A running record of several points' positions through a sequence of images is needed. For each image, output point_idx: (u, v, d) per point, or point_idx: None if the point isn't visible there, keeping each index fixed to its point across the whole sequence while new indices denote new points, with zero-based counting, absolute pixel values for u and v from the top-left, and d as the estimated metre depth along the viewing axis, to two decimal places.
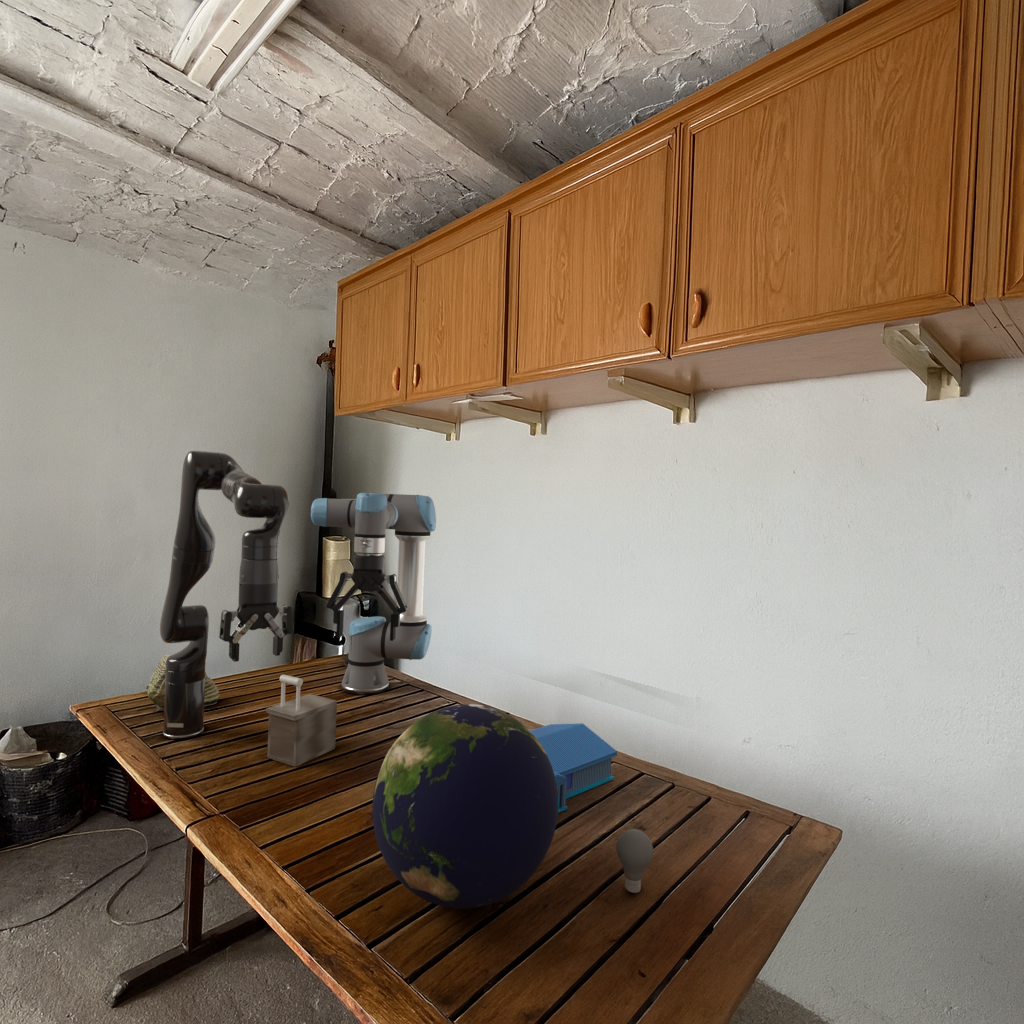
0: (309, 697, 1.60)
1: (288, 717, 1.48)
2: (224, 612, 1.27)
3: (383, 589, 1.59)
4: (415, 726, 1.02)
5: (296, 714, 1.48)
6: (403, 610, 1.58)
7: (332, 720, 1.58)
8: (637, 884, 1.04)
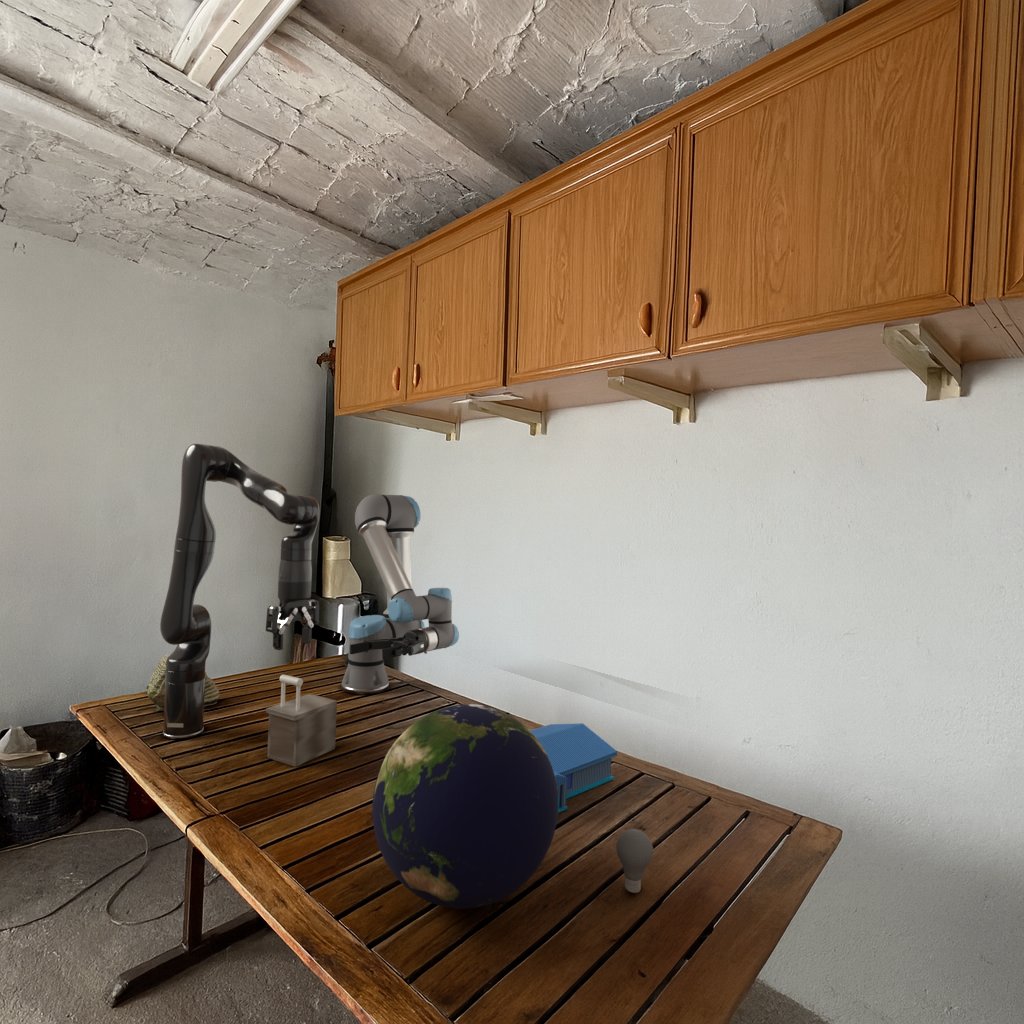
0: (309, 697, 1.60)
1: (288, 717, 1.48)
2: None
3: None
4: (415, 726, 1.02)
5: (296, 714, 1.48)
6: None
7: (332, 720, 1.58)
8: (637, 884, 1.04)
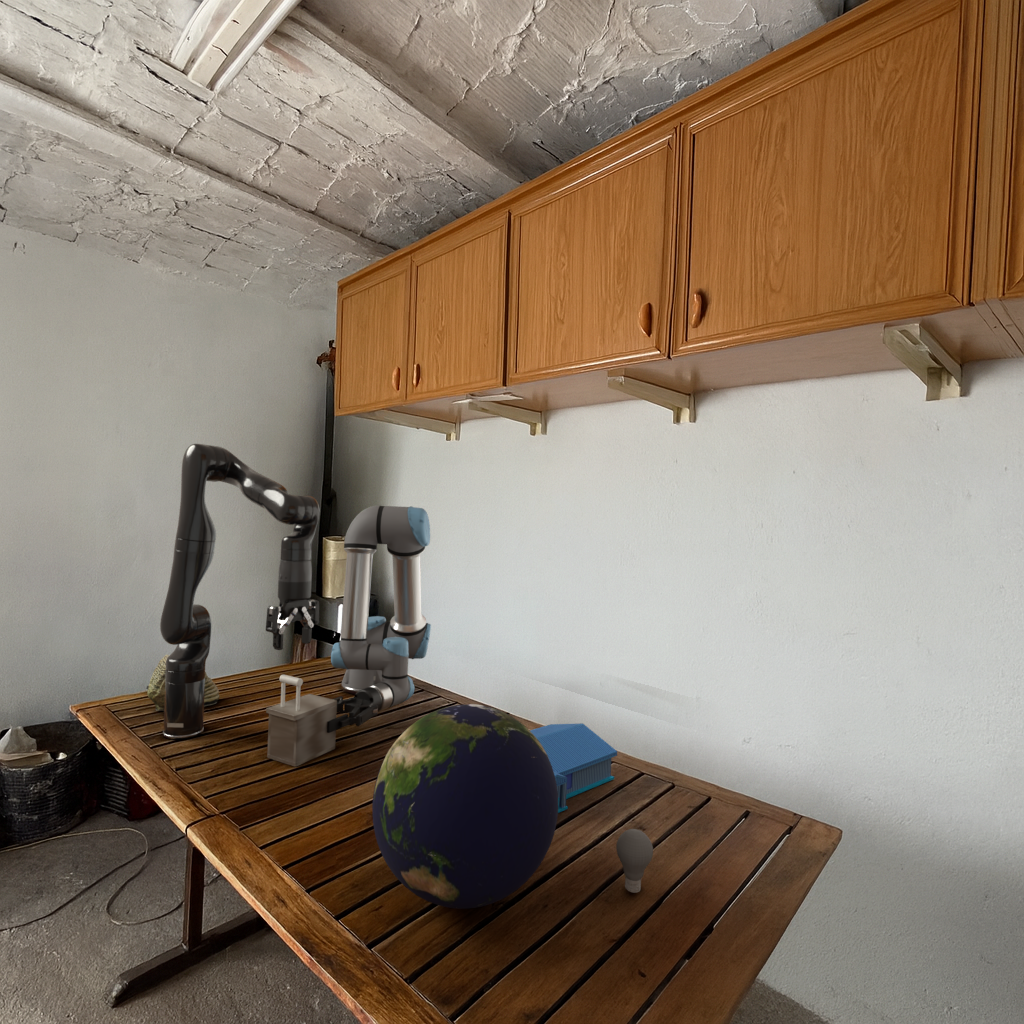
0: (309, 697, 1.60)
1: (288, 717, 1.48)
2: None
3: None
4: (415, 726, 1.02)
5: (296, 714, 1.48)
6: None
7: None
8: (637, 884, 1.04)
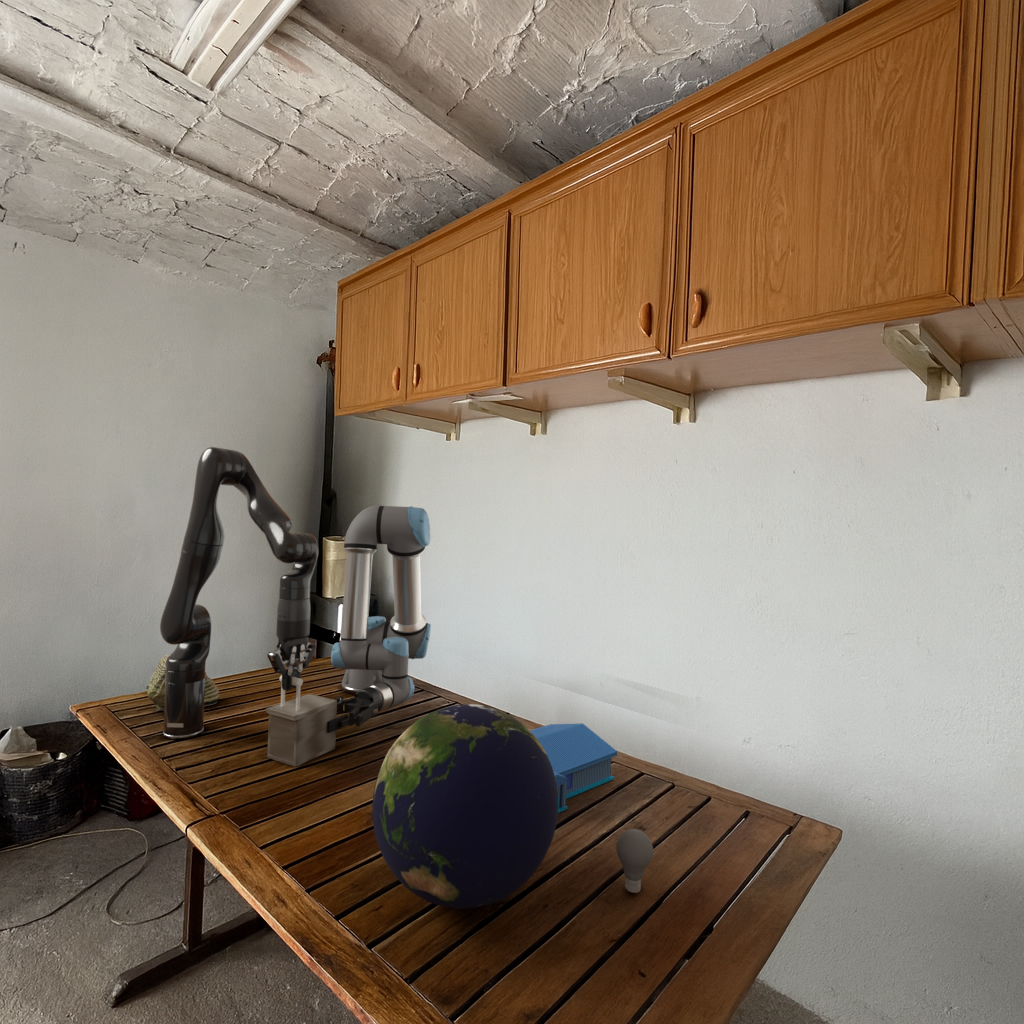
0: (309, 697, 1.60)
1: (288, 717, 1.48)
2: None
3: None
4: (415, 726, 1.02)
5: (296, 714, 1.48)
6: None
7: None
8: (637, 884, 1.04)
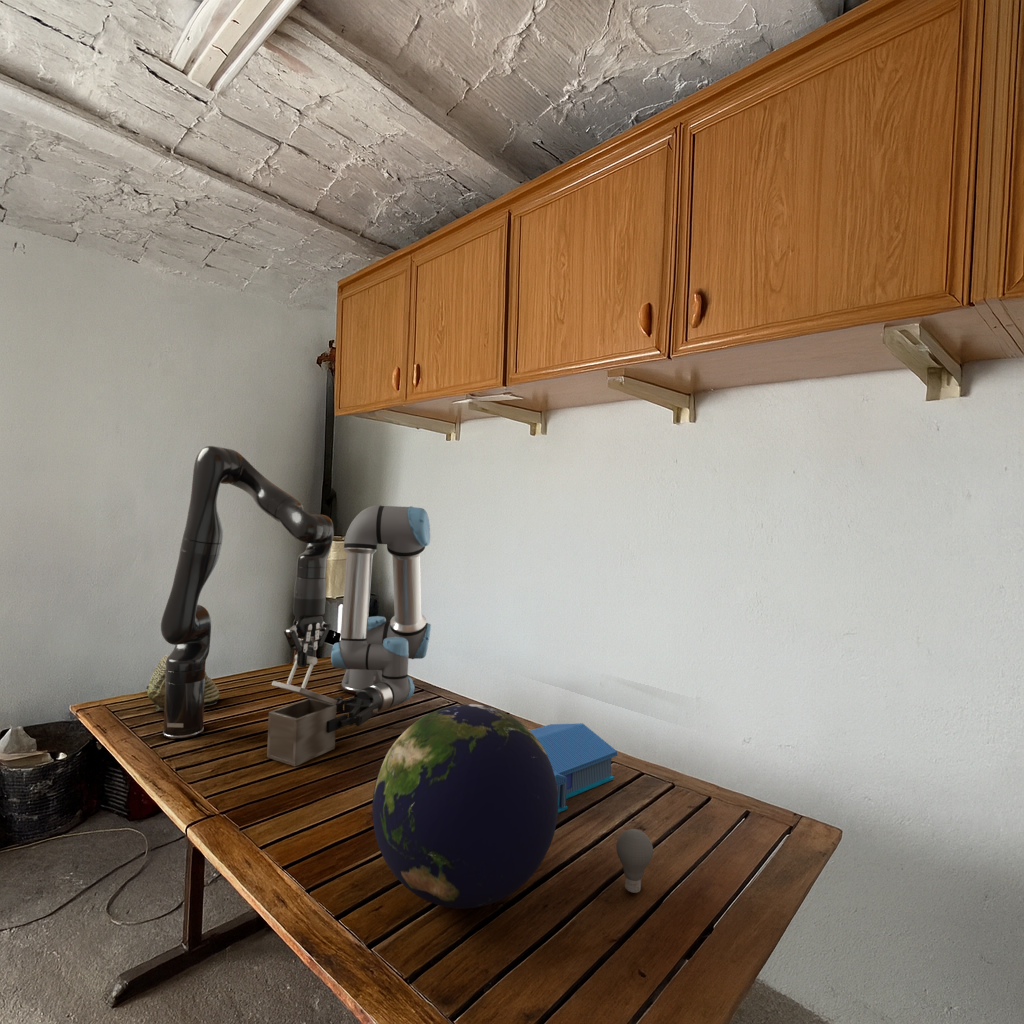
0: None
1: (293, 688, 1.49)
2: None
3: None
4: (415, 726, 1.02)
5: (302, 688, 1.49)
6: None
7: None
8: (637, 884, 1.04)
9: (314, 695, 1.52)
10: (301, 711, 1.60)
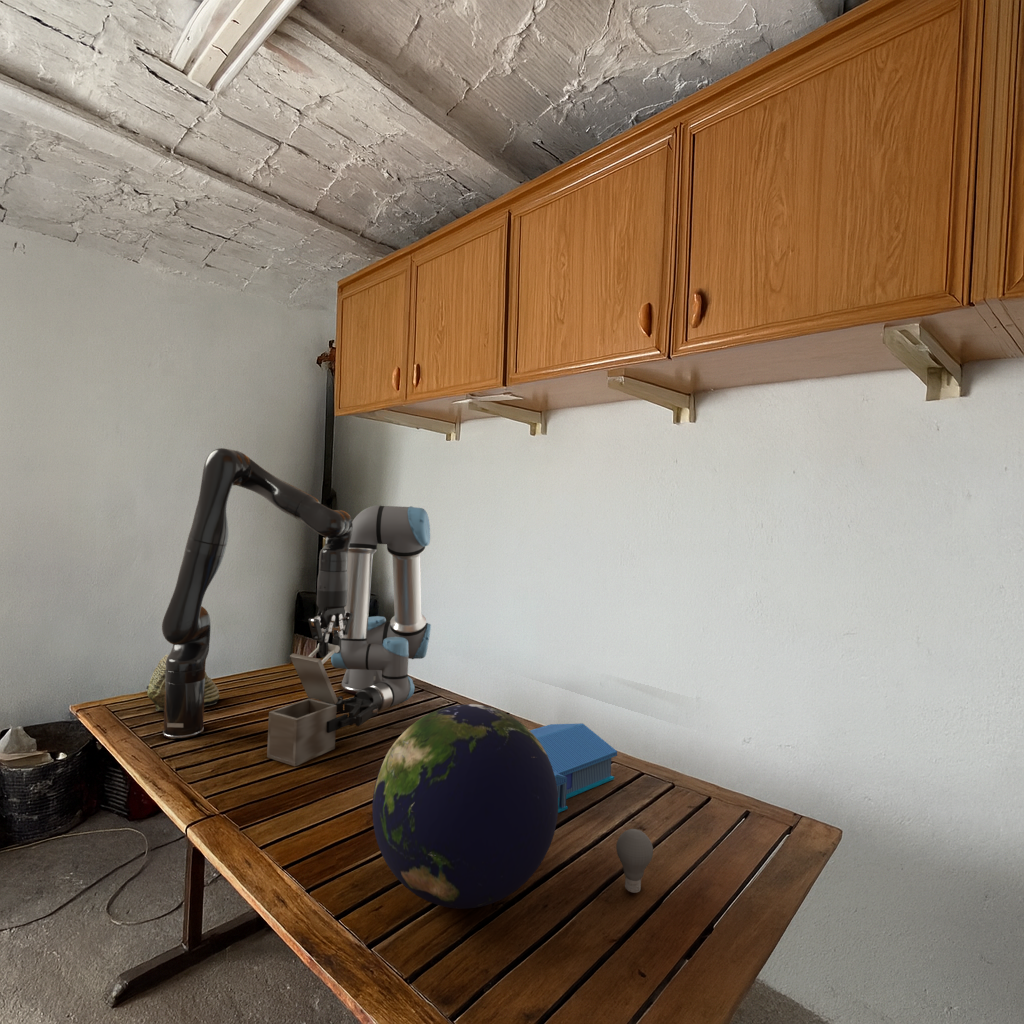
0: None
1: (312, 659, 1.54)
2: None
3: None
4: (415, 726, 1.02)
5: None
6: None
7: None
8: (637, 884, 1.04)
9: (325, 677, 1.55)
10: (301, 711, 1.60)
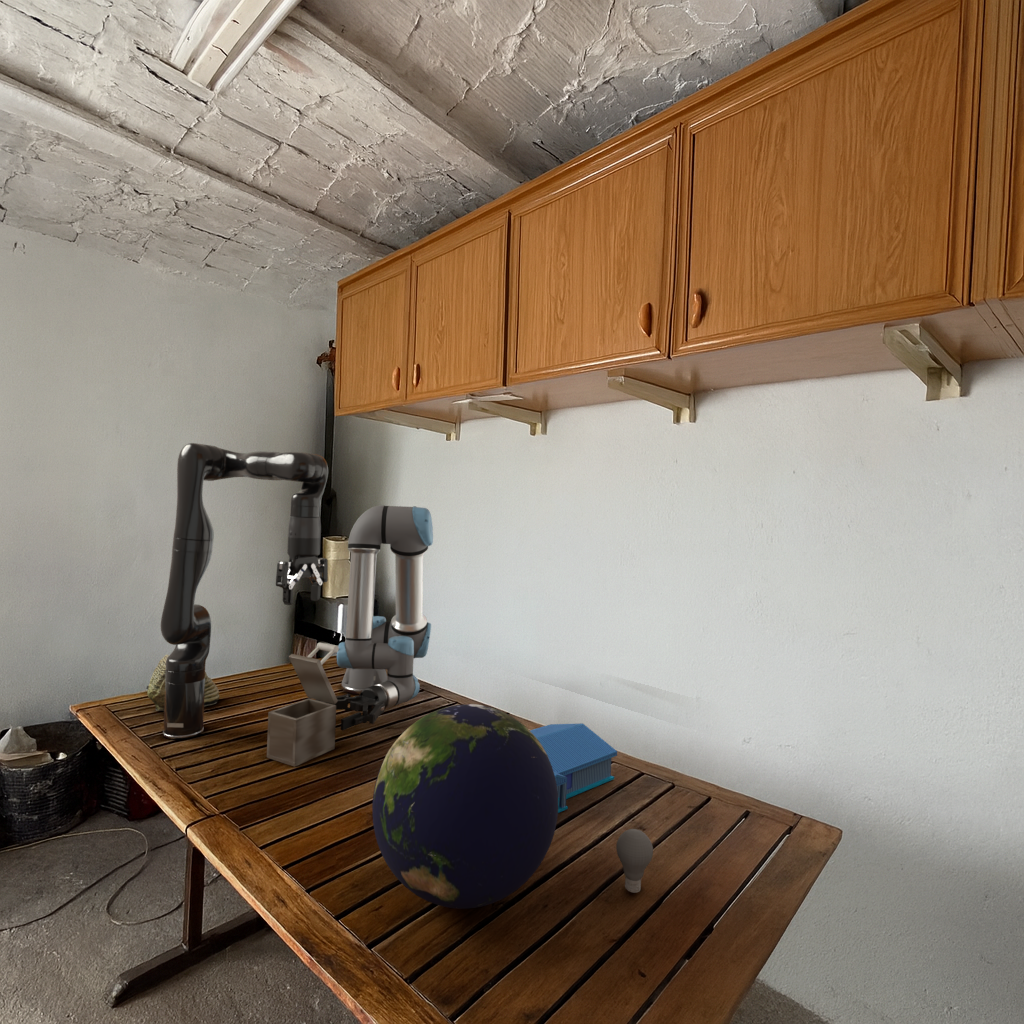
0: None
1: (311, 660, 1.53)
2: None
3: None
4: (415, 726, 1.02)
5: None
6: None
7: (331, 720, 1.58)
8: (637, 884, 1.04)
9: (324, 677, 1.55)
10: (301, 711, 1.60)
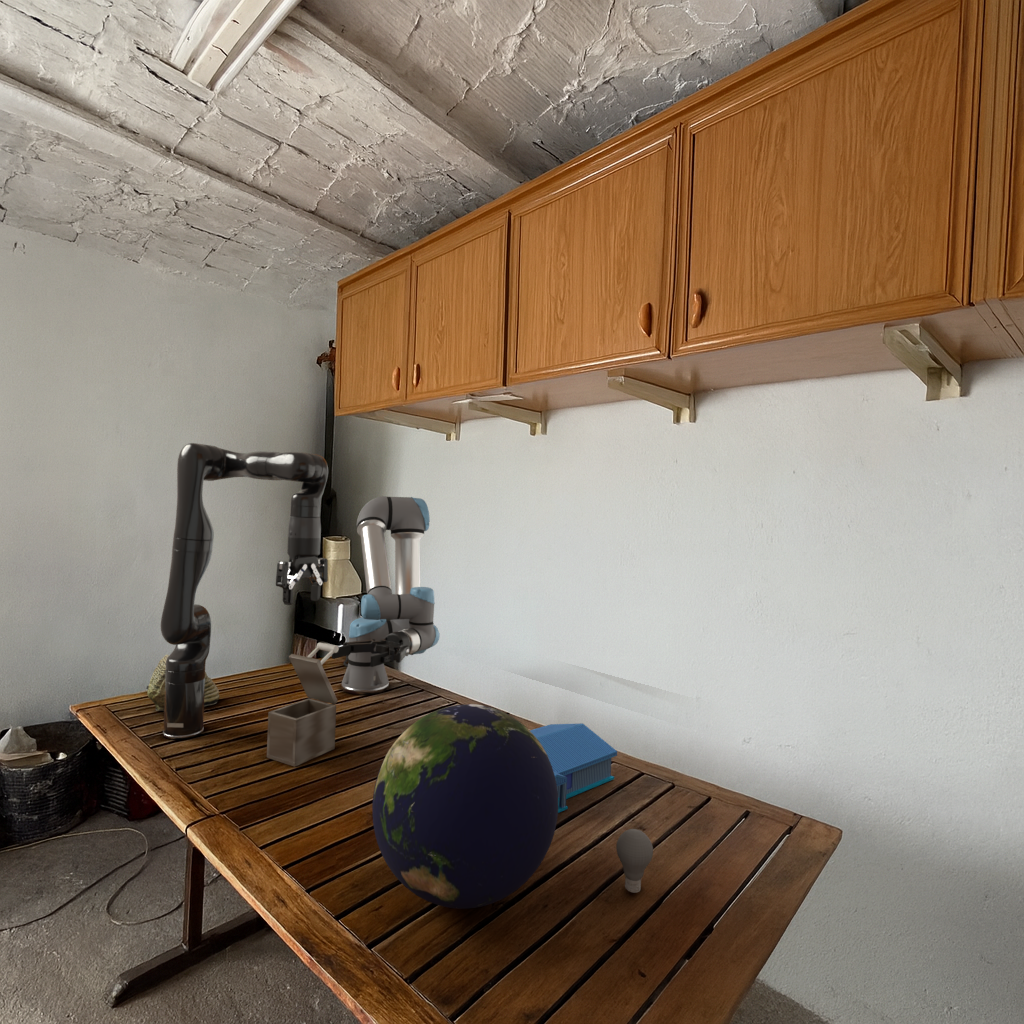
0: None
1: (311, 660, 1.54)
2: None
3: None
4: (415, 726, 1.02)
5: None
6: None
7: (331, 720, 1.58)
8: (637, 884, 1.04)
9: (324, 677, 1.55)
10: (301, 711, 1.60)
